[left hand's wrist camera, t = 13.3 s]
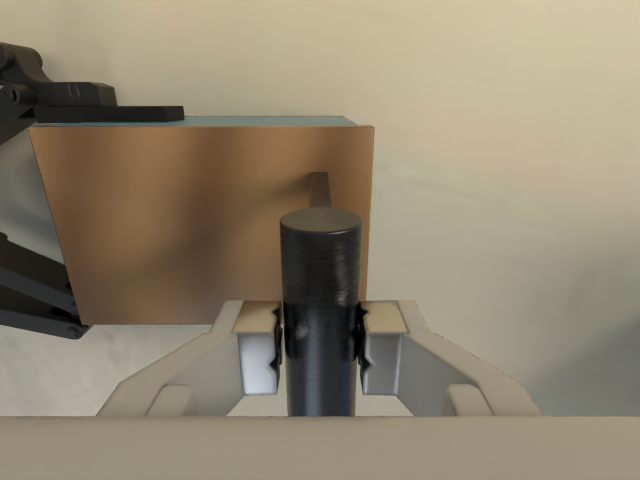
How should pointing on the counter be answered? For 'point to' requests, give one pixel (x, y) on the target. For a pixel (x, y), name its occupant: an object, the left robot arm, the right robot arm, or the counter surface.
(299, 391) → the lid
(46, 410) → the counter surface
